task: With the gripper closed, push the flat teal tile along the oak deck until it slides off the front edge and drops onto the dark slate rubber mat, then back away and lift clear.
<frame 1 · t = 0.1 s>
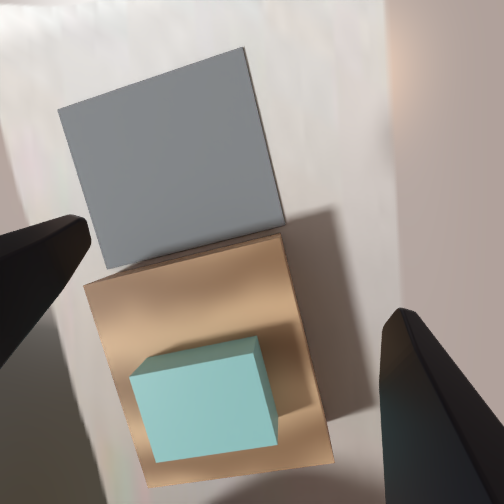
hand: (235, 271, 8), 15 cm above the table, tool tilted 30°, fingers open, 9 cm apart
slate mat: (170, 166, 23), on the table
oak deck: (220, 347, 25), on the table
teal tile: (207, 398, 20), point 5 cm above the table, touching oak deck
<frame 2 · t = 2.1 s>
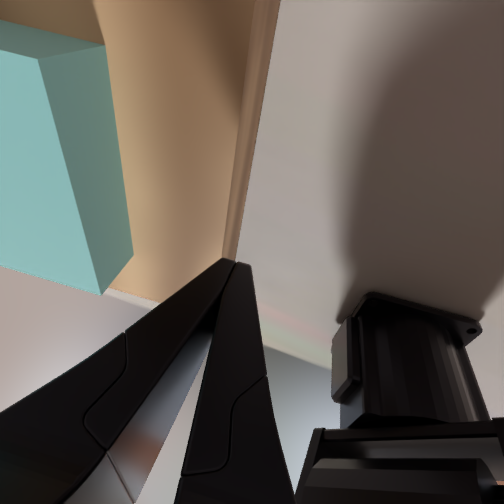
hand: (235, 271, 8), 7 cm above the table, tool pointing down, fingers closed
oak deck: (89, 116, 14), on the table
teal tile: (20, 169, 10), point 5 cm above the table, touching oak deck
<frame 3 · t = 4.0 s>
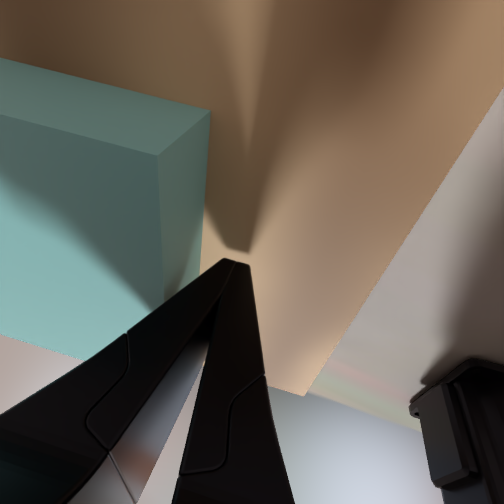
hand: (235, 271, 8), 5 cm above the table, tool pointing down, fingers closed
oak deck: (168, 169, 12), on the table
teal tile: (82, 247, 8), point 5 cm above the table, touching gripper
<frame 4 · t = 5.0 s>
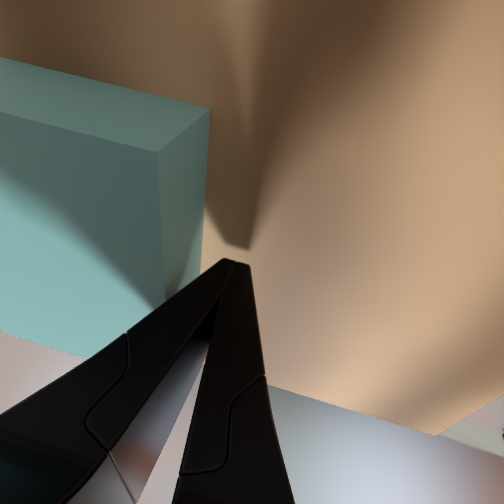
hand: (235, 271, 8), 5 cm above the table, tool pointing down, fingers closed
oak deck: (308, 205, 12), on the table
teal tile: (83, 246, 8), point 5 cm above the table, touching gripper, oak deck
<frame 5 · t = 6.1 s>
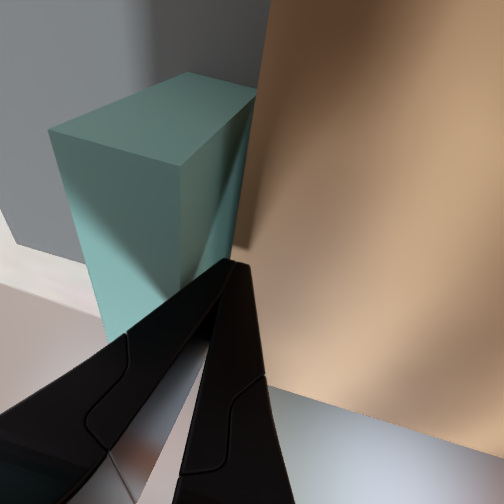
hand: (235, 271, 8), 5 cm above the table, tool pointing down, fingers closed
slate mat: (97, 148, 13), on the table
oak deck: (460, 246, 12), on the table
teal tile: (183, 230, 10), point 3 cm above the table, tilted 91°, touching gripper, slate mat
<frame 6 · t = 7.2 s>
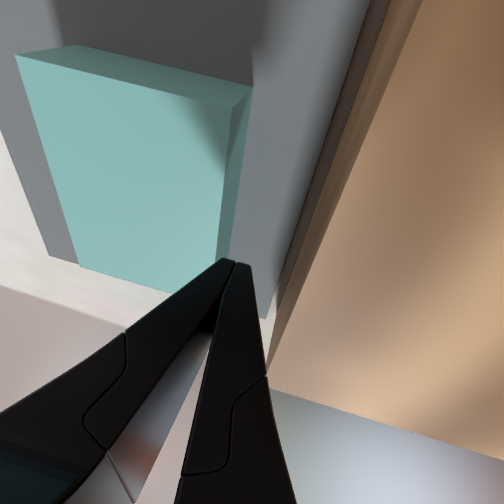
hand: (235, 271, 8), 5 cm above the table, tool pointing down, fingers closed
slate mat: (146, 163, 12), on the table
teal tile: (152, 192, 11), point 1 cm above the table, tilted 180°, touching slate mat
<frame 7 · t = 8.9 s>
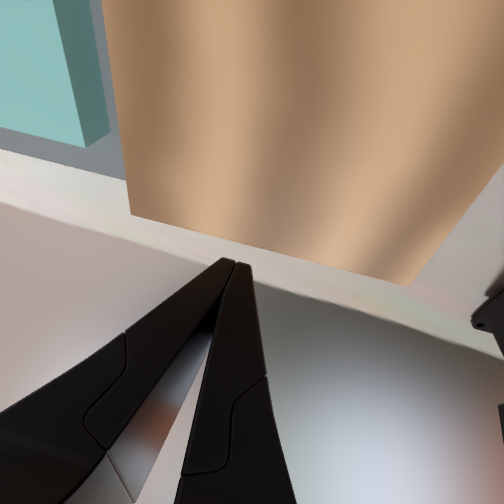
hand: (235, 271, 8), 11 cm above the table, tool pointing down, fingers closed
slate mat: (28, 33, 16), on the table
oak deck: (305, 97, 15), on the table
teal tile: (27, 48, 15), point 1 cm above the table, tilted 180°, touching slate mat
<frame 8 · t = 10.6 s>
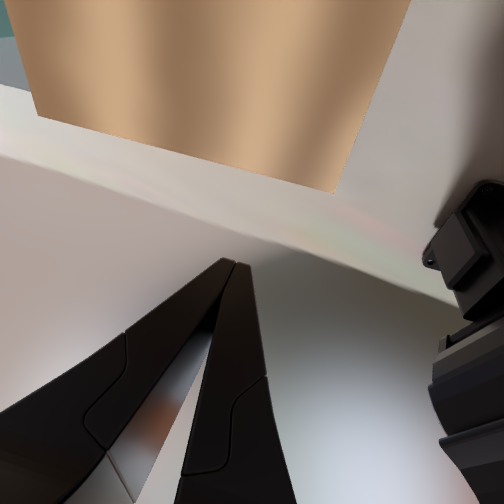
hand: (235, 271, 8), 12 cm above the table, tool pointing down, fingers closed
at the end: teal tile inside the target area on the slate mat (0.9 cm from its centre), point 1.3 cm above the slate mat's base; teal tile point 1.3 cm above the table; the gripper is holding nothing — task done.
